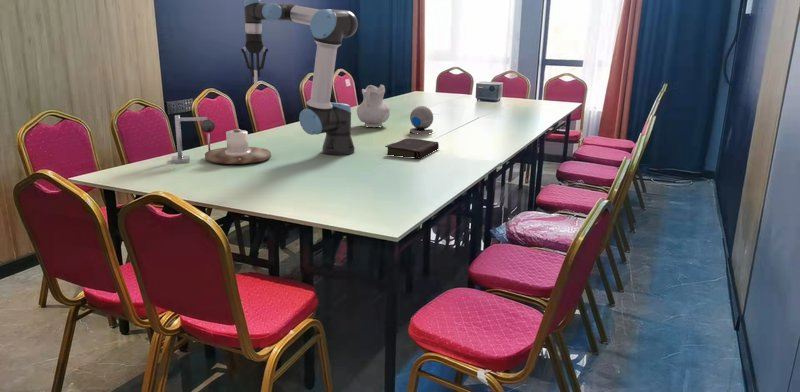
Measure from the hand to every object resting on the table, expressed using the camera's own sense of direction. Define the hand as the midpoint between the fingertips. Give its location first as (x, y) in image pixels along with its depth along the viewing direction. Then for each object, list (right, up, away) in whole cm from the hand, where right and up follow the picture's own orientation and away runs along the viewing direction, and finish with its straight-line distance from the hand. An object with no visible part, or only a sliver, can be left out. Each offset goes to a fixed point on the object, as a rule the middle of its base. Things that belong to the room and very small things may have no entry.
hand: (255, 83), depth 286 cm
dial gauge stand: (-20, -38, -29) cm, 52 cm away
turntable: (-2, -37, -23) cm, 44 cm away
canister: (-2, -35, -26) cm, 44 cm away
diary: (+75, -34, -1) cm, 82 cm away
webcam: (+81, -18, +50) cm, 97 cm away
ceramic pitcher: (+53, -13, +65) cm, 85 cm away
